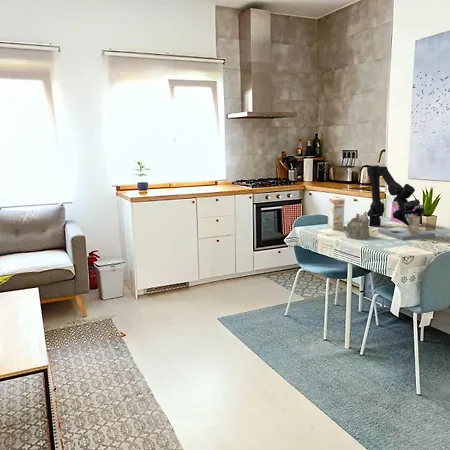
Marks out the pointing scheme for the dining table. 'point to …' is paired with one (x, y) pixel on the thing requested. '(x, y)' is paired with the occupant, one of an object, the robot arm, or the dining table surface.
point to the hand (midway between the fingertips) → (415, 224)
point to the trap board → (405, 233)
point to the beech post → (413, 224)
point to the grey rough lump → (358, 227)
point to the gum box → (395, 207)
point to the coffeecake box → (336, 213)
